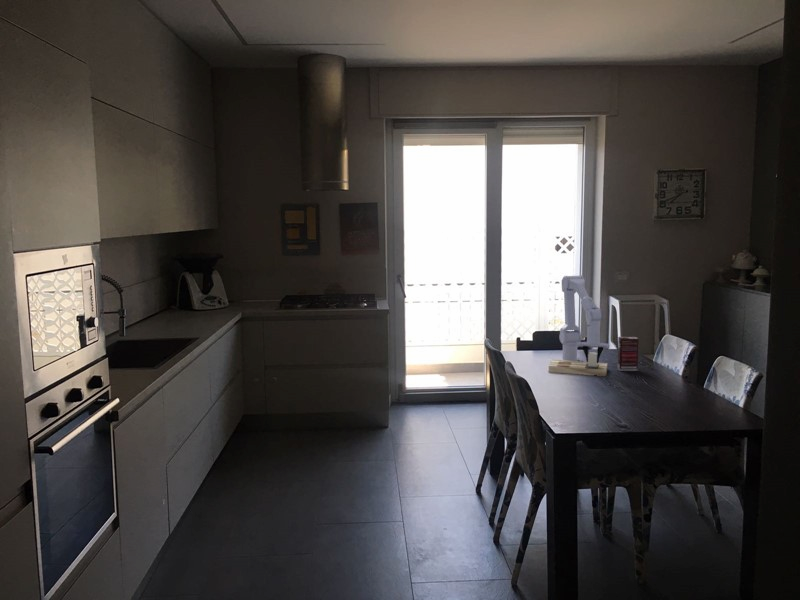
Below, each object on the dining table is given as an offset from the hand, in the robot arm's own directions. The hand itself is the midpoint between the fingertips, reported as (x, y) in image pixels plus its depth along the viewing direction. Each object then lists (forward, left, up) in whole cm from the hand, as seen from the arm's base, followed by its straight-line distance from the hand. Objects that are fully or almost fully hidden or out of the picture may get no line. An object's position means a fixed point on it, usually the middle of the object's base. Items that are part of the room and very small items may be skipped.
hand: (592, 362), depth 304 cm
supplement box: (-9, +15, -5) cm, 19 cm away
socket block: (0, -7, -5) cm, 8 cm away
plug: (0, 0, -2) cm, 2 cm away
